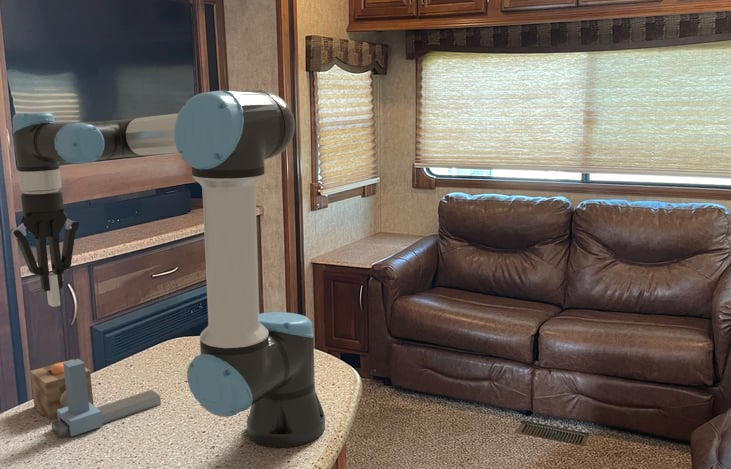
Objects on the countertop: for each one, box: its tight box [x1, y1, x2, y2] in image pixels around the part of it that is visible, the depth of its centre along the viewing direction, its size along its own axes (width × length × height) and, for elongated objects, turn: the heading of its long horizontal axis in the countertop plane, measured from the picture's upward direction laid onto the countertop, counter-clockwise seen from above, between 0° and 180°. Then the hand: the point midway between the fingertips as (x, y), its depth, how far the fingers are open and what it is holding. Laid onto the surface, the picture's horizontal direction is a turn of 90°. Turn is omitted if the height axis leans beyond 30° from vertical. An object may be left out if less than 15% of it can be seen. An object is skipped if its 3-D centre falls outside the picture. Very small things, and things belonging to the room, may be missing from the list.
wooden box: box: [29, 359, 95, 421], centre depth 146 cm, size 10×9×8 cm
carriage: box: [57, 358, 104, 437], centre depth 136 cm, size 7×6×13 cm
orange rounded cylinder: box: [51, 361, 65, 376], centre depth 145 cm, size 3×3×3 cm
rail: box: [51, 389, 162, 440], centre depth 141 cm, size 4×21×2 cm, turn 134°
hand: (54, 304), depth 143 cm, fingers closed
